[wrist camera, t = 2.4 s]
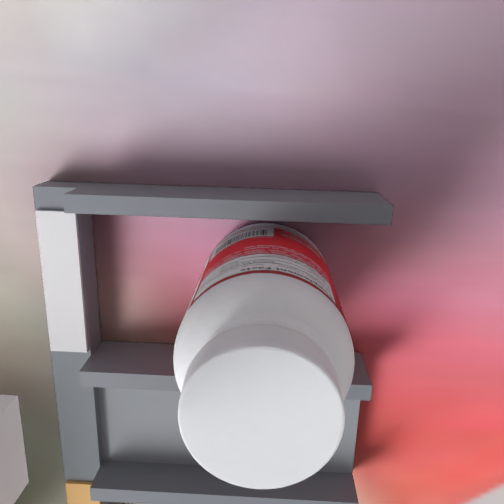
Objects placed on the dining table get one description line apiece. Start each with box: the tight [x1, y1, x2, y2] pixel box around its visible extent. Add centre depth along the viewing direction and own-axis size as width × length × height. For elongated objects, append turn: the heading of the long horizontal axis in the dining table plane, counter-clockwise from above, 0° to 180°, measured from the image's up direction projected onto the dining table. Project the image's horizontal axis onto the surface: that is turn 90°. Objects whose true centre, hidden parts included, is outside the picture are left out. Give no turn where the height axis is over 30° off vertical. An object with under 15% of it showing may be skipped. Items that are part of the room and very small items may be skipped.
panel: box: [33, 181, 393, 504], centre depth 25 cm, size 24×16×3 cm, turn 178°
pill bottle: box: [173, 223, 355, 489], centre depth 18 cm, size 6×6×11 cm
